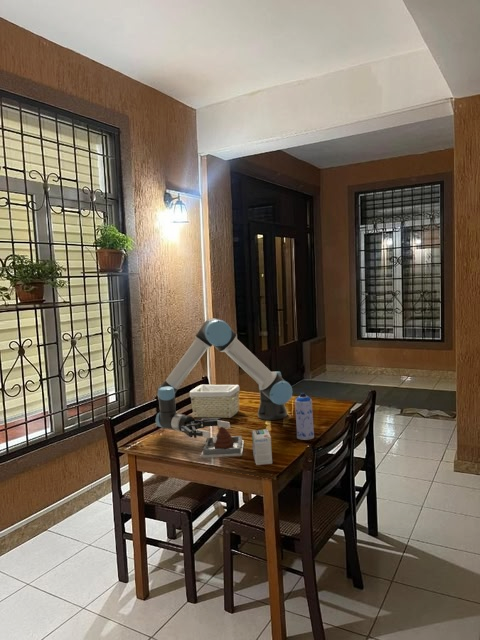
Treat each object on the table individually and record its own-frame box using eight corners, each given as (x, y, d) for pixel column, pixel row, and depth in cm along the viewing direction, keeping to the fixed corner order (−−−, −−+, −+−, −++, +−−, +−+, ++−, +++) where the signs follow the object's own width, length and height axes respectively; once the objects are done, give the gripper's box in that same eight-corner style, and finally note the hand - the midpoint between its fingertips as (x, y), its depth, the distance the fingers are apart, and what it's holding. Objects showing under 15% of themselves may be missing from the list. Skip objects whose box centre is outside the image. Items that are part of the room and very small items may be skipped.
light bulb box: (253, 455, 200) (251, 430, 199) (269, 453, 201) (267, 428, 199) (256, 465, 189) (254, 438, 188) (273, 463, 190) (271, 437, 189)
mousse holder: (243, 442, 216) (243, 435, 216) (242, 455, 200) (241, 448, 200) (205, 444, 217) (205, 437, 217) (201, 457, 201) (200, 450, 201)
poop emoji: (231, 451, 203) (229, 430, 202) (211, 451, 205) (209, 430, 204) (235, 443, 213) (234, 422, 212) (216, 443, 214) (215, 422, 213)
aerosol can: (316, 434, 219) (314, 391, 217) (310, 440, 212) (307, 396, 210) (300, 433, 223) (298, 390, 221) (293, 438, 216) (291, 394, 214)
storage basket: (190, 418, 259) (187, 391, 258) (202, 409, 274) (200, 383, 273) (232, 419, 251) (230, 391, 250) (242, 410, 266) (240, 384, 265)
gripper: (202, 423, 232) (237, 429, 219) (164, 439, 212) (200, 447, 199) (201, 408, 231) (236, 413, 218) (163, 423, 211) (199, 430, 198)
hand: (219, 430), depth 208 cm, fingers open, 13 cm apart
